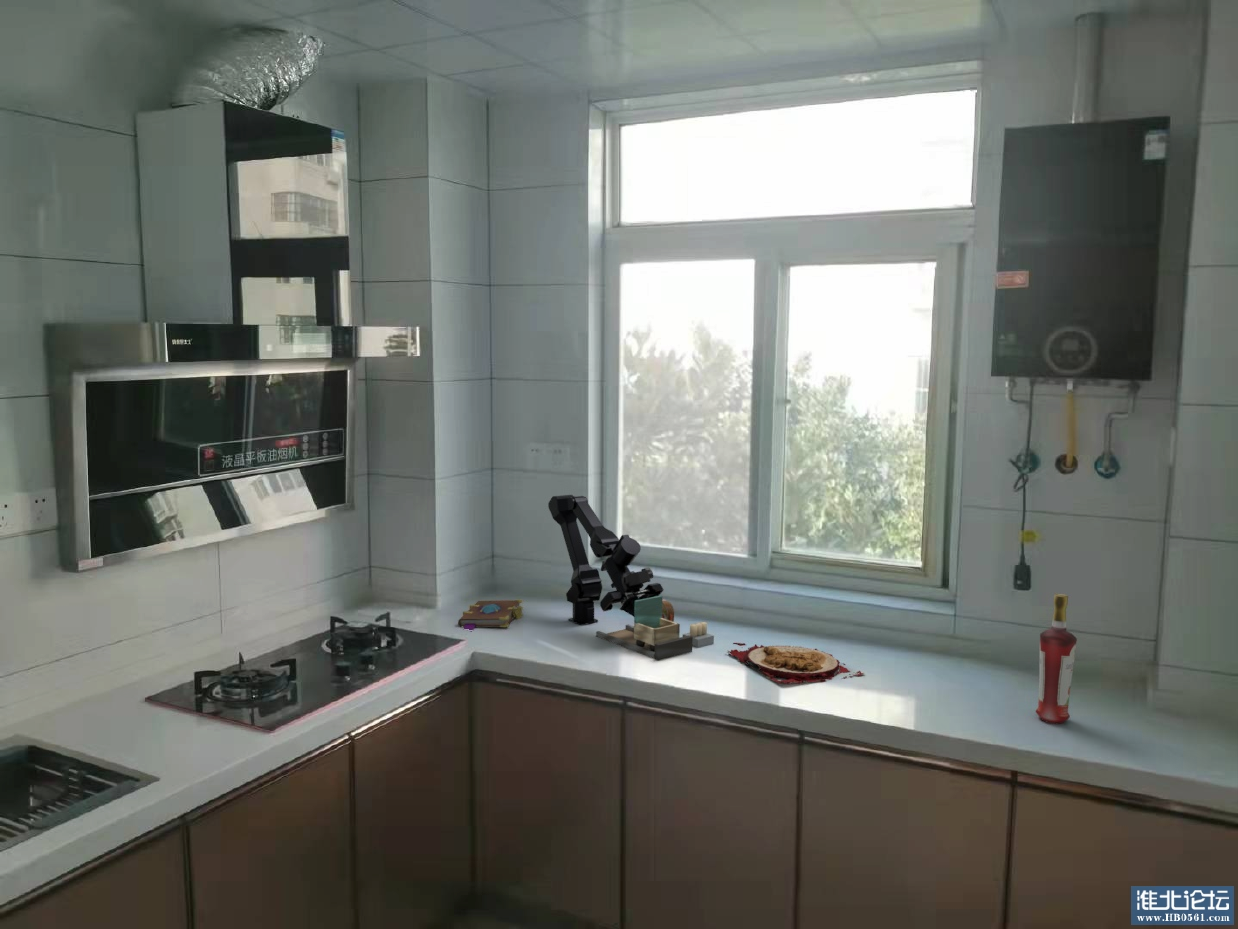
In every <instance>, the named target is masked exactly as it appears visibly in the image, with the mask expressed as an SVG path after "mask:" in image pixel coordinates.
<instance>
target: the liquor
mask: <svg viewBox="0 0 1238 929" xmlns="http://www.w3.org/2000/svg"><path fill="white" fill-rule="evenodd" d="M1053 599H1054V600H1053V606H1054V610H1053V611H1054V612H1053V616H1052V623H1051V628H1049V629H1044V630H1043V631H1042V632H1040V634H1039V664H1038V665H1039V677H1038V678H1039V680H1038V685H1039V686H1038V702H1037V703H1038V704H1037V705H1038V706H1037V708H1036V710H1035V713H1036V715H1038V716H1039V718H1040V720H1042V721H1043V722H1046V721H1047V723H1050V724H1056V723H1058V724H1062V723H1065V721H1067V720H1068V719H1071V717H1070V716H1071V715H1070V714H1069V704H1070V697H1071V696H1070V695H1071V687H1072V686H1071V685H1072V677H1073V673H1074V672H1073V671H1074V664H1075V659H1076V658H1075V657H1076V649H1077V648H1076V647H1077V641H1078V638H1077V637H1076V636H1075V635H1074V634H1073V633H1071V632H1070V631H1068V630H1067V611H1066V610H1067V606H1068V602H1069V596H1068V595H1066V594H1064V593H1063V594H1062V593H1061V594H1060V593H1055V594H1054V598H1053Z"/></svg>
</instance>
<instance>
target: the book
mask: <svg viewBox="0 0 1238 929" xmlns="http://www.w3.org/2000/svg"><path fill="white" fill-rule="evenodd" d="M523 600H524V599H518V598H517V599H513V600H511V599H510V600H508V599H507V600H502V599H501V600H477V601H476V602H475V603H474V604H469V609H468V610H467V611H466V610H465V611H462V616H461V617H459V620H458V621H457V622H458V623H457V625H459V627H460V626H464V627H463V628H464V629H469V630H473V631H474V629H475V628H508V627H509V624H510V623H511V622H512V621H513V620H514V619H516V620H520V619H521V618H522V617H523V613H522V610H524V606H521V605H520V604H522V603H523V602H524V601H523ZM464 629H463V630H464ZM473 631H469V632H470V633H472V632H473Z"/></svg>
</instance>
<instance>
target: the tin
mask: <svg viewBox="0 0 1238 929" xmlns="http://www.w3.org/2000/svg"><path fill="white" fill-rule="evenodd" d="M662 618H663V619H666V620H669V621H672V622H675V609H674V607H673V605H672V603H671V602H670V601H668V600H666V599H663V598H662Z"/></svg>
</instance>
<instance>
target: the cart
mask: <svg viewBox="0 0 1238 929" xmlns="http://www.w3.org/2000/svg"><path fill="white" fill-rule="evenodd" d="M662 599H663V596H662V595H659V596H655V597H651V598H646V599H641V600H636V601H635V608H634V617H633V619H634V620H633V621H634V623H633V624H634V625H633V626H634V638H635V639H637V640H636V644H637V646H640V647H644V646H645V643H648V644H651V645H650V650H651V651H653V652H655V644H656V643H660V642H664V641H668V640H672V639H676V638H680V628H681V626H680V625H681V624H680V623H677V622H675V621H674V622H672V621H669V620H666V619H663V618H662Z"/></svg>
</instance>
